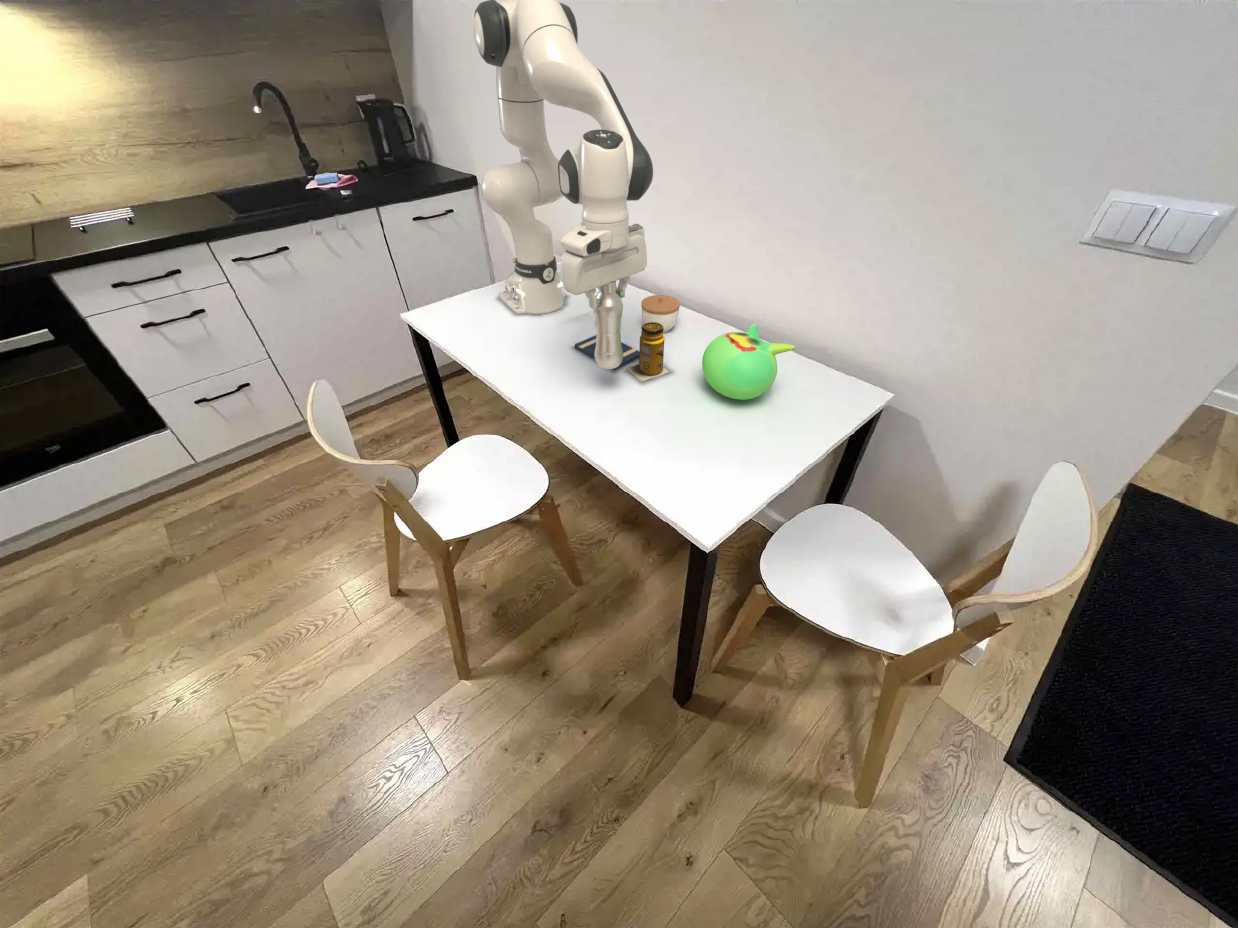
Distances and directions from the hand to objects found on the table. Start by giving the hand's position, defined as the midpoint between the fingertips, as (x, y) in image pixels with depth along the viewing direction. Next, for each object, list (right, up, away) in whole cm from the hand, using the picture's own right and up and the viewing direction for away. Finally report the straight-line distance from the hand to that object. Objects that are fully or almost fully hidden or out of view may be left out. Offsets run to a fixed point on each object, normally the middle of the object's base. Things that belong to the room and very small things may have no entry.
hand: (607, 302), depth 104 cm
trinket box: (+14, +5, +39) cm, 41 cm away
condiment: (+10, -11, +21) cm, 26 cm away
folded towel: (-1, -4, +28) cm, 29 cm away
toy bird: (+31, -17, +14) cm, 38 cm away
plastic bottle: (0, -11, +10) cm, 15 cm away
